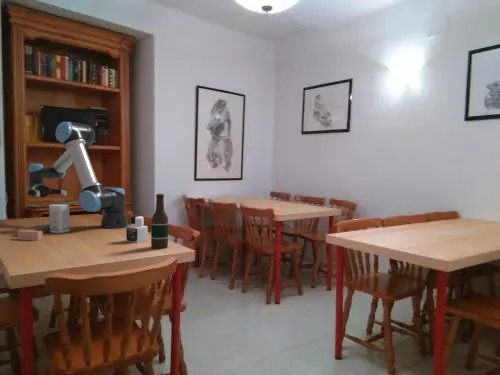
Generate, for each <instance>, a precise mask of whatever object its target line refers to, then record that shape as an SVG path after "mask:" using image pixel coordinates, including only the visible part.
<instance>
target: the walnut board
mask: <svg viewBox="0 0 500 375" xmlns="http://www.w3.org/2000/svg"><path fill="white" fill-rule="evenodd" d="M20 230H31V231H42V234H43V233H47V232H50V223H42V224H39V225H34V226H29V227H24V228H18V229H16V232H15V233H16V235H15V236H16V237H17V231H20Z"/></svg>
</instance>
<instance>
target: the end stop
mask: <svg viewBox="0 0 500 375" xmlns="http://www.w3.org/2000/svg"><path fill="white" fill-rule="evenodd" d="M16 237H17V240H24V241H41V240H43V233H42V231H31V230H20V231H17V236H16Z"/></svg>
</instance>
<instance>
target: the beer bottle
mask: <svg viewBox="0 0 500 375" xmlns="http://www.w3.org/2000/svg"><path fill="white" fill-rule="evenodd" d="M155 197H156V199H155V200H156V202H155V212H154V213H153V215H152V217H151V223H150V225H151V229H150V231H151V234H150V235H151V237H150V238H151V240H150V241H151V242H150V246H151V247H150V248H152V249H154V250H163V249H167V248H169V247H168V246H169V217H168V215H167V214H166V212H165V201H164V199H165V198H164V197H165V194H163V193H157V194H156V195H155Z"/></svg>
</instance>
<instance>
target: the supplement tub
mask: <svg viewBox="0 0 500 375" xmlns="http://www.w3.org/2000/svg"><path fill="white" fill-rule="evenodd" d="M48 211H49V212H48V213H49V214H48V215H49V224H50V231H49V232H50V233H52V234H64V233H69V232H70V229H71V227H70V226H71V224H70V223H71V222H70V221H71V220H70V204H69V203H54V204H53V203H52V204H49V208H48Z"/></svg>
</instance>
